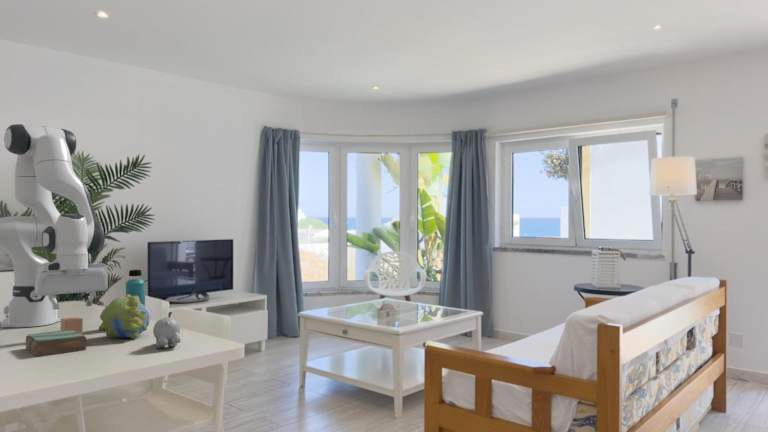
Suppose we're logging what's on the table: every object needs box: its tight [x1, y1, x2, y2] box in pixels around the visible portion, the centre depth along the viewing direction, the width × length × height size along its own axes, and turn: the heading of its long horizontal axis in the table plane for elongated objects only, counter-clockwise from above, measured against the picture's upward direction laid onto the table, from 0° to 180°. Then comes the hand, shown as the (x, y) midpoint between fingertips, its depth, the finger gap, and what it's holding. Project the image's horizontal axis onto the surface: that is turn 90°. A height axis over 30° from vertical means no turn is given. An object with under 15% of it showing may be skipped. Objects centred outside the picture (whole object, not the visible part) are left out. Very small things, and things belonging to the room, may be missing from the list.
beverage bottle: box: [125, 269, 146, 306], centre depth 191 cm, size 6×7×20 cm
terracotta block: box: [60, 316, 84, 335], centre depth 174 cm, size 5×5×6 cm
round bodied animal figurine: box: [152, 316, 182, 349], centre depth 160 cm, size 7×12×8 cm, turn 34°
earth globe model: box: [98, 294, 151, 340], centre depth 172 cm, size 14×16×15 cm
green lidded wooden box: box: [25, 329, 87, 357], centre depth 157 cm, size 14×12×4 cm
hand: (72, 307), depth 173 cm, fingers open, 8 cm apart
